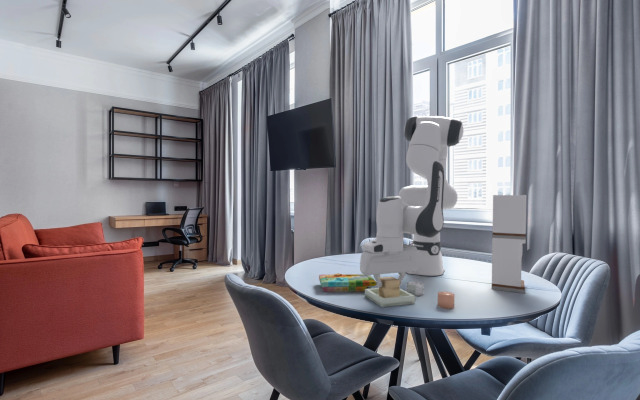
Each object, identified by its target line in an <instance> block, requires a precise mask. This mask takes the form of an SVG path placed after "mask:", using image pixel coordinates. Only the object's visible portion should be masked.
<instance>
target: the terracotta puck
mask: <svg viewBox="0 0 640 400" xmlns="http://www.w3.org/2000/svg"><path fill="white" fill-rule="evenodd" d="M455 298H456V295H455V293H454V292H450V291H446V290H445V291H438V292H437V306H438V308H440V309H447V310H448V309H449V310H451V309H455Z"/></svg>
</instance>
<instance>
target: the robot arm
mask: <svg viewBox="0 0 640 400" xmlns="http://www.w3.org/2000/svg"><path fill="white" fill-rule="evenodd" d="M403 132H404V133H403V134H404V138H405V140H406V141H408V142H409V145H408V147H407V148H408V149H407V152H406V157H405V163H406V165H407V167H408V168H409V170H411V172H413V173H414V174H415V175H418V176H420V177H421V178H423V179H424V180H426V181H427V185H419V184H418V185H415V184H414V185H408V186H404V187H401V189H400V190H399V192H398V194H397V195H390V196H388V195H387V196H383V197H381V198H380V199H379V200H378V202H377V207H376V218H375V219H376V226H377V231H376V235H375V236H376V237H375V238H374V239H372V240H370V241H367V242H364V243H363V244H362V250H363V252H362V253H361V255H360V261H359V262H360V263H359V270H360V272H361V274H364V275H371V276H372V277H373V279H374V280H375V281H376V282H377V285H376V288H380V287H383V282H381V281H380V279H379V278H380V277H381V275H388V274H398V278H397V279H398V280H400V287H401V286H403V280H404V278H405V277H406V274H408V275H420V276H433V277H434V276H441V275H444V272H445V271H446V269H445V268H444V264H443V254H442V252H441V249H442V242H441V231H442V230H443V228H444V223H445V222H444V210H448V209H453V208H454V207H455V206H456V205H457V202H458V193H457V191H456V189H455V188H454V187H453V186H452V185H450V183H449V182H448V180H447V178H446V164H447V158H448V147H450V148H451V147H454V146H456V145H459V143H460V142H461V139H462V138H463V136H464V126H463V122H462V120H461V119H459V118H455V117H454V118H453V117H452V118H451V117H445V116H439V115H435V116H432V115H431V116H429V115H428V116H427V115H426V116H425V115H423V116H422V115H421V116H419V115H413V116H410V117H409V118H408V119H407V120H406V122H405V124H404V127H403ZM404 234H409V235H413V240H411V241H410V243H404Z"/></svg>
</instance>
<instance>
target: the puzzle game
mask: <svg viewBox="0 0 640 400" xmlns="http://www.w3.org/2000/svg"><path fill="white" fill-rule="evenodd" d="M318 280H319V284H320V286H321V288H322V290H323V292H325V293H327V292H330V293H334V292H335V293H336V292H337V293H338V292H365V289H368V288H370V287H371V288H373V287H377V281H376V280H375V278H374V277H373V276H372V275H364V274H363V273H361V274H359V273H358V274H357V273H356V274H352V273H351V274H349V273H348V274H342V273H333V274H330V273H329V274H324V273H323V274H322V273H321V274H319V275H318Z"/></svg>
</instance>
